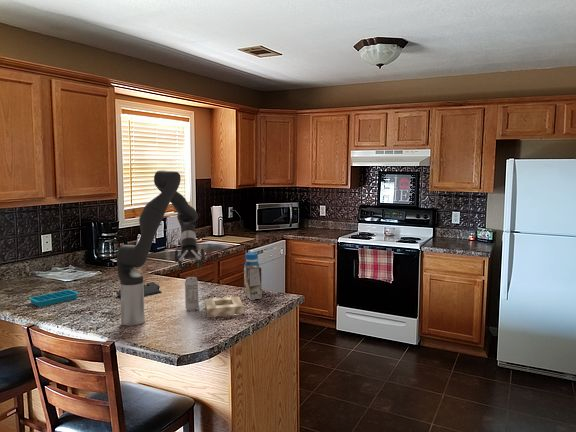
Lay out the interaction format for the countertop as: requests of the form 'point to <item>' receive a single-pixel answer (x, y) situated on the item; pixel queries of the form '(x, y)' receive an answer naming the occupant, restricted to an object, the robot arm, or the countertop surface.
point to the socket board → (223, 306)
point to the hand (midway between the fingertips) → (190, 268)
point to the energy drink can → (191, 294)
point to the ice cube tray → (54, 297)
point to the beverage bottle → (250, 261)
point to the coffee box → (253, 282)
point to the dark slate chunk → (148, 289)
